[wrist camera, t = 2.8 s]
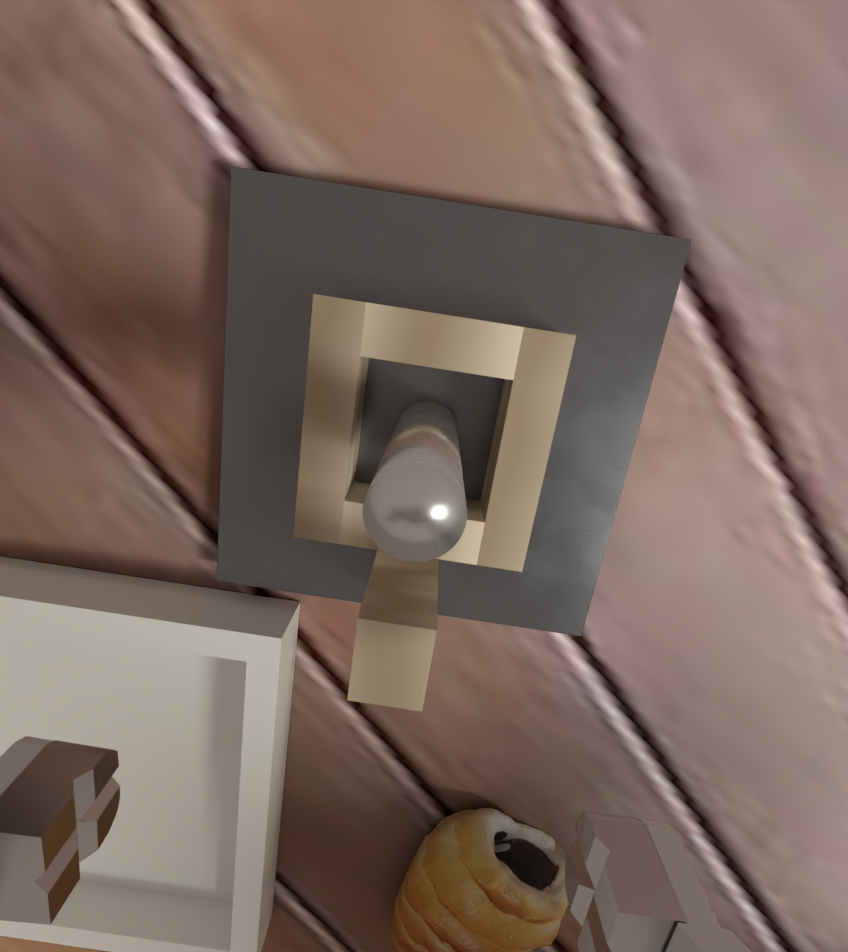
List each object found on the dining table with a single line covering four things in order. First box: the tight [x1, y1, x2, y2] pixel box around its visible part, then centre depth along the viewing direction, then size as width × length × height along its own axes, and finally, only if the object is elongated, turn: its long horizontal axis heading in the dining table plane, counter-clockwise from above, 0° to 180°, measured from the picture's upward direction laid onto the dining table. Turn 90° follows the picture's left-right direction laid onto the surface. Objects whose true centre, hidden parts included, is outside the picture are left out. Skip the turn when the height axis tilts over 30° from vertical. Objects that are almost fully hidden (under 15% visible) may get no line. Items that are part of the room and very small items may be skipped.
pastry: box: [391, 808, 569, 952], centre depth 23 cm, size 9×7×4 cm
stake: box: [217, 167, 691, 636], centre depth 14 cm, size 14×14×9 cm
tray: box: [0, 556, 300, 952], centre depth 22 cm, size 18×18×2 cm
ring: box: [293, 294, 576, 711], centre depth 15 cm, size 8×10×6 cm
